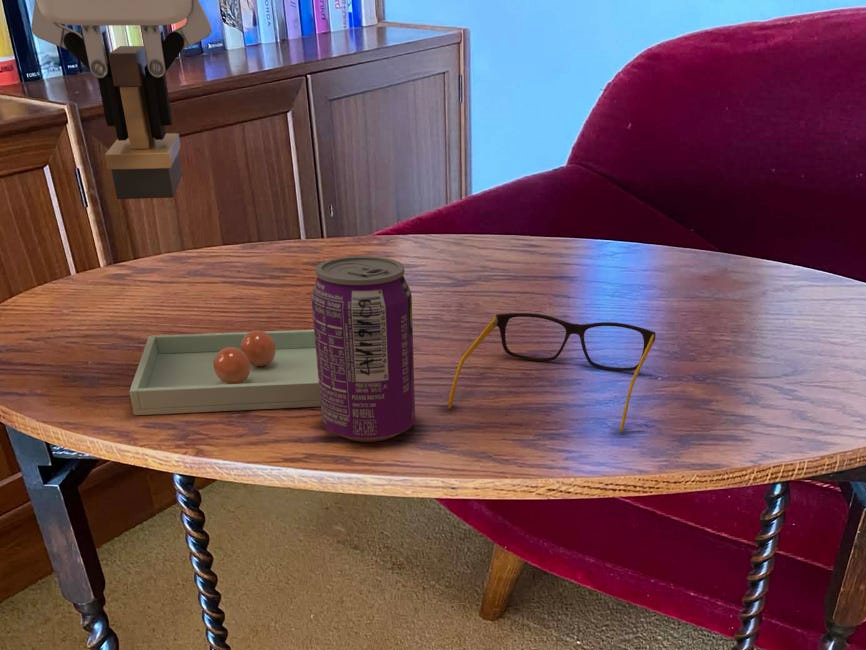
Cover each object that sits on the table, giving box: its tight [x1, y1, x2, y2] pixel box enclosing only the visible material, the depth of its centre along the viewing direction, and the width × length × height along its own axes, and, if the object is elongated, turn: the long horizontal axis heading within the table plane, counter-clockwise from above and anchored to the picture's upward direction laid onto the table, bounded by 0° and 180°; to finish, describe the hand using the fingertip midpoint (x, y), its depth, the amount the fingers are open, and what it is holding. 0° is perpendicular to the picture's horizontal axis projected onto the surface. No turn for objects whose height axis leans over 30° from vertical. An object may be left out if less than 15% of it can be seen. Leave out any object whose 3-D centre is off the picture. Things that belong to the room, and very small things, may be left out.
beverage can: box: [310, 255, 416, 443], centre depth 70 cm, size 7×7×12 cm
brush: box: [104, 45, 183, 200], centre depth 71 cm, size 4×9×9 cm, turn 10°
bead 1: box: [213, 347, 251, 384], centre depth 79 cm, size 3×3×3 cm
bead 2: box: [240, 329, 276, 367], centre depth 82 cm, size 3×3×3 cm
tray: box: [128, 329, 321, 416], centre depth 81 cm, size 18×13×2 cm
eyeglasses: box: [447, 312, 657, 433], centre depth 80 cm, size 14×14×4 cm
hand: (142, 135), depth 72 cm, fingers closed on brush
